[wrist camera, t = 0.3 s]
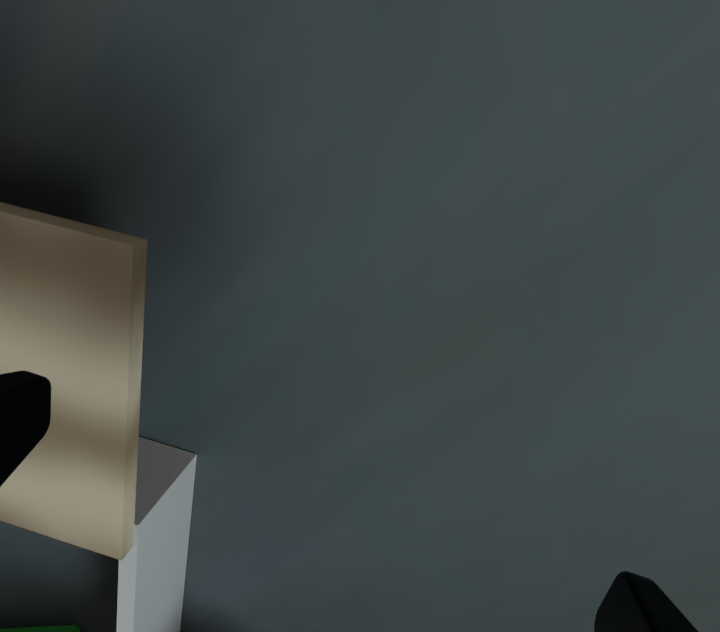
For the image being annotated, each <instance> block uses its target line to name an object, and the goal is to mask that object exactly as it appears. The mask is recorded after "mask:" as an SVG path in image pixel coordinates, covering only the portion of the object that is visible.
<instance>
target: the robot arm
mask: <svg viewBox="0 0 720 632" xmlns="http://www.w3.org/2000/svg"><path fill="white" fill-rule="evenodd" d="M50 420H51V383H50V381H49V379H47V378H46V377H44V376H41V375H38V374H35V373H32V372H29V371H16V372H10V373H5V374H0V487H1V486H2V484H3V483H4V482H5V481H6V480H7V479H8V478H9V476H10V475H11V474H12V473H13V472H14V471H15V469H16V468H17V467H18V466H19V465H20V464H21V463H22V461H23V460H24V459H25V458H26V457H27V456H28V454H29V453H30V452H31V451H32V450H33V449H34V447H35V446H36V445H37V444H38V443H39V442H40V441H41V439H42V438H43V437H44V436H45V434H46V432H47V431H48V428H49V425H50ZM594 632H698V631H697V630H696V629H695V627H694V626H693V625H692V624H691V623H690V622H689V621H688V619H687V618H686V617H685V616H684V615H683V614H682V613H681V612H680V610H679V609H678V608H677V607H676V606H675V605H674V604H673V602H672V601H671V600H670V599H669V598H668V597H667V596H666V595H665V593H664V592H663V591H662V590H661V589H660V588H659V587H658V585H657V584H656V583H655V582H654V581H652V580H651V579H649V578H646V577H643V576H640V575H637V574H634V573H631V572H628V571H623V572H620V573H619V574H618V575H617V576H616V578H615V580H614V581H613V583H612V585H611V587H610V589H609V590H608V592H607V594H606V596H605V598H604V599H603V601H602V603H601V605H600V607H599V609H598V611H597V614H596V618H595V625H594Z"/></svg>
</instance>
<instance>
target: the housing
mask: <svg viewBox="0 0 720 632" xmlns="http://www.w3.org/2000/svg"><path fill="white" fill-rule="evenodd" d="M196 458H197V454H195V453H191V452H188V451H185V450H181V449H178V448H175V447H171V446H168V445H165V444H161V443H158V442H155V441H151V440H148V439H145V438H141V437H138V457H137V478H136V500H135V522H134V544H133V547H132V548H131V550H130V551H129V552H128V553H127V555H126V556H125V557H124V558H123V560H122V561H121V560H119V568H118V598H117V628H116V632H180V626H181V616H182V605H183V595H184V584H185V574H186V563H187V553H188V542H189V532H190V521H191V511H192V500H193V490H194V479H195V468H196Z"/></svg>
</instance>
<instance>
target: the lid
mask: <svg viewBox="0 0 720 632" xmlns="http://www.w3.org/2000/svg"><path fill="white" fill-rule="evenodd" d="M146 260H147V239H143V238H140V237H136V236H132V235H128V234H124V233H120V232H116V231H112V230H108V229H104V228H100V227H96V226H93V225H89V224H85V223H81V222H77V221H73V220H69V219H65V218H61V217H57V216H53V215H49V214H45V213H42V212H38V211H34V210H30V209H26V208H22V207H18V206H14V205H10V204H6V203H2V202H0V374H5V373H10V372H16V371H29V372H32V373H35V374H38V375H41V376H44V377H46V378H47V379H49V381H50V383H51V420H50V425H49V428H48V431H47V432H46V434H45V436H44V437H43V438H42V439H41V441H40V442H39V443H38V444H37V445H36V446H35V447H34V449H33V450H32V451H31V452H30V453H29V454H28V456H27V457H26V458H25V459H24V460H23V461H22V463H21V464H20V465H19V466H18V467H17V468H16V469H15V471H14V472H13V473H12V474H11V475H10V476H9V478H8V479H7V480H6V481H5V482H4V483H3V484H2V486H1V487H0V520H1V521H4V522H7V523H10V524H13V525H16V526H19V527H22V528H25V529H28V530H31V531H34V532H37V533H40V534H43V535H46V536H49V537H52V538H55V539H58V540H61V541H64V542H67V543H70V544H73V545H76V546H79V547H82V548H85V549H88V550H91V551H94V552H97V553H100V554H103V555H106V556H109V557H112V558H115V559H118V560H121V561H122V560H123V558H124V557H125V556H126V555H127V553H128V552H129V551H130V550H131V548H132V547H133V544H134V522H135V500H136V478H137V457H138V435H139V413H140V391H141V369H142V348H143V326H144V304H145V282H146Z"/></svg>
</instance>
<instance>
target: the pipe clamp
mask: <svg viewBox="0 0 720 632" xmlns="http://www.w3.org/2000/svg"><path fill="white" fill-rule="evenodd" d="M0 632H81V631H80V629H79V628H78V626H77V625H62V626H44V627H26V628H8V629H0Z"/></svg>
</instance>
